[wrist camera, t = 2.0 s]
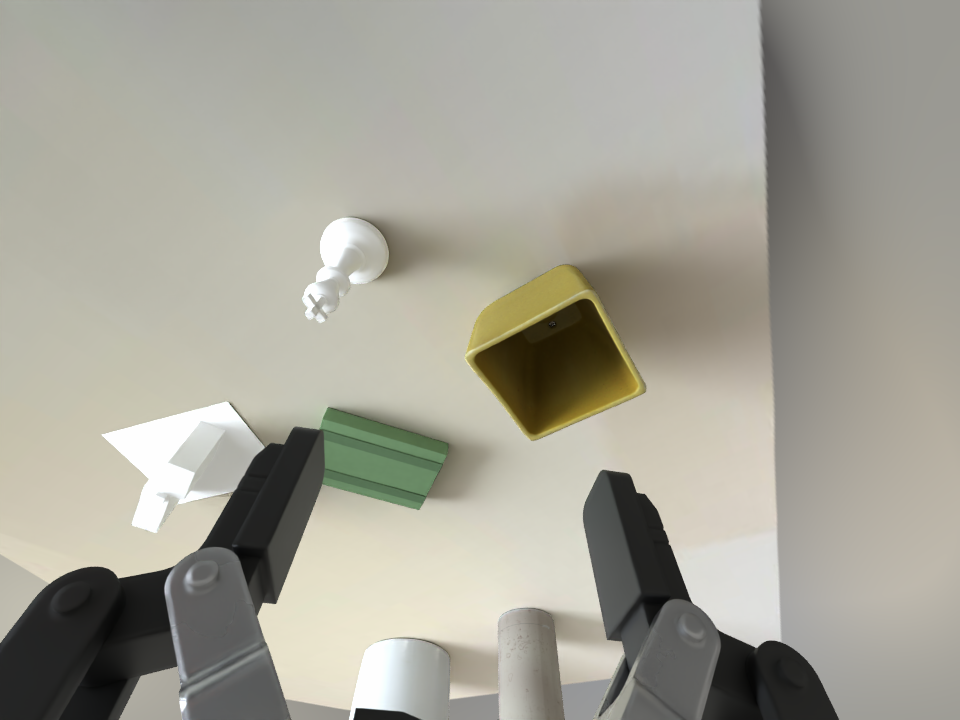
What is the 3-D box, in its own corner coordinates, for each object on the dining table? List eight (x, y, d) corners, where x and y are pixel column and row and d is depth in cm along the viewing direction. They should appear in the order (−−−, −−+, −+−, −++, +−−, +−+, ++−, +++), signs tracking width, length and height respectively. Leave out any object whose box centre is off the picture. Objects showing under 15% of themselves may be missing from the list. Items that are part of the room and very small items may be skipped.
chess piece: (365, 205, 31) (319, 259, 23) (401, 266, 34) (371, 334, 25) (308, 234, 32) (245, 295, 24) (347, 291, 35) (301, 363, 27)
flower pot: (617, 324, 36) (650, 393, 29) (523, 370, 39) (530, 444, 31) (569, 233, 32) (592, 286, 24) (467, 292, 35) (460, 356, 27)
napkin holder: (178, 505, 50) (145, 551, 46) (100, 435, 44) (53, 480, 40) (292, 478, 47) (270, 525, 43) (225, 399, 41) (191, 443, 37)
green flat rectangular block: (311, 468, 46) (305, 481, 45) (327, 407, 42) (322, 419, 40) (421, 498, 49) (419, 511, 47) (448, 443, 44) (447, 456, 43)
